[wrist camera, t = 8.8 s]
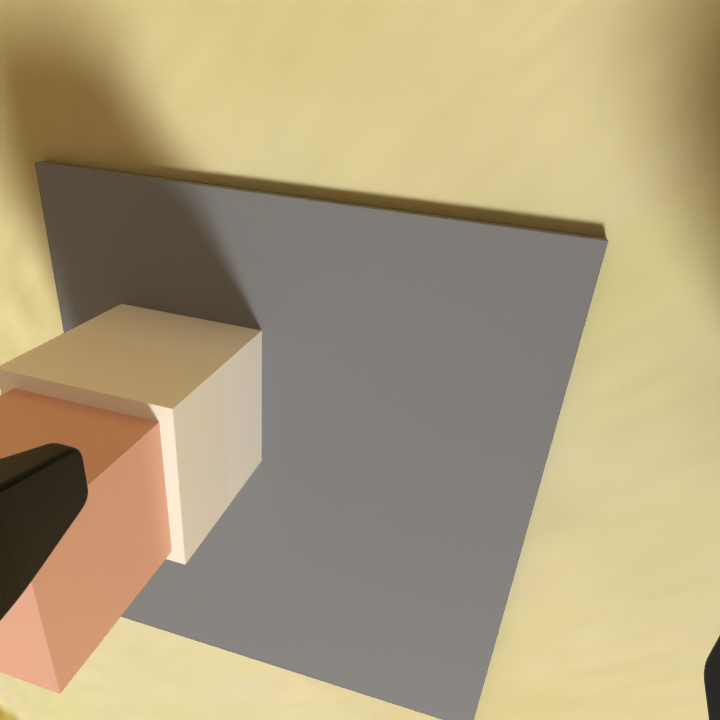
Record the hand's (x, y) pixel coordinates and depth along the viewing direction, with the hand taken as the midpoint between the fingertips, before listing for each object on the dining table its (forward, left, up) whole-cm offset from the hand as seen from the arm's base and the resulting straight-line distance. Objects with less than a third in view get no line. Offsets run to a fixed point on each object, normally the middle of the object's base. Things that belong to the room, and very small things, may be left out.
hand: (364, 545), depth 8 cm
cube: (+10, +6, -6) cm, 13 cm away
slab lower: (+10, +6, -12) cm, 17 cm away
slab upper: (+10, +6, -9) cm, 15 cm away
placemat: (+6, +10, -12) cm, 17 cm away
